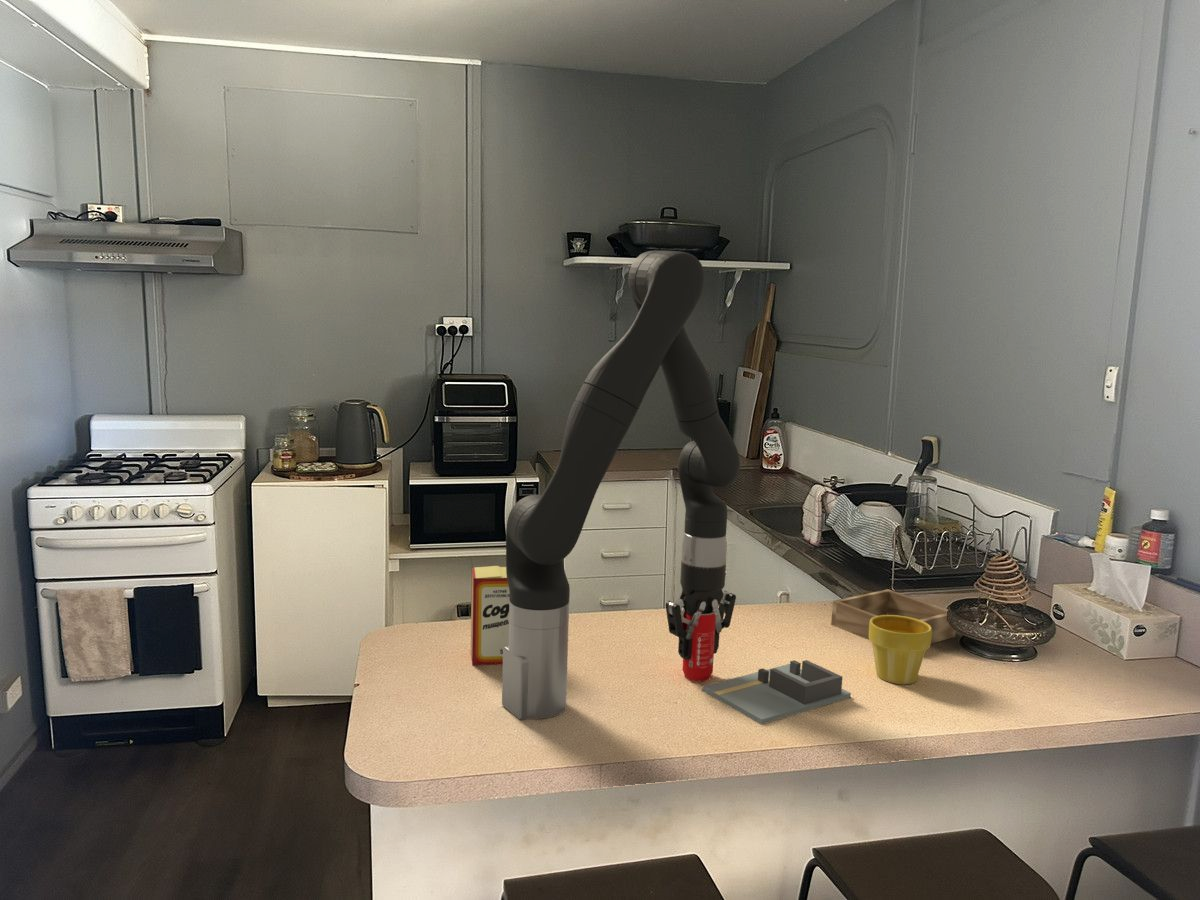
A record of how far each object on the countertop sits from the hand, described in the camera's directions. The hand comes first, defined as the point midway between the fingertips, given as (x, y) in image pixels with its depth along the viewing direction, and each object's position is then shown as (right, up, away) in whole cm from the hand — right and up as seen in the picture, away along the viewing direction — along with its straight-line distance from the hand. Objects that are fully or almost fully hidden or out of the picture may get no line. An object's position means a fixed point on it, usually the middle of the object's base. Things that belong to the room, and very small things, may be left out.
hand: (698, 654), depth 154 cm
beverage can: (0, -4, +1) cm, 4 cm away
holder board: (+12, -5, -5) cm, 14 cm away
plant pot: (+35, -5, +4) cm, 36 cm away
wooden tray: (+42, -1, +27) cm, 50 cm away
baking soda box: (-35, -2, +6) cm, 36 cm away
